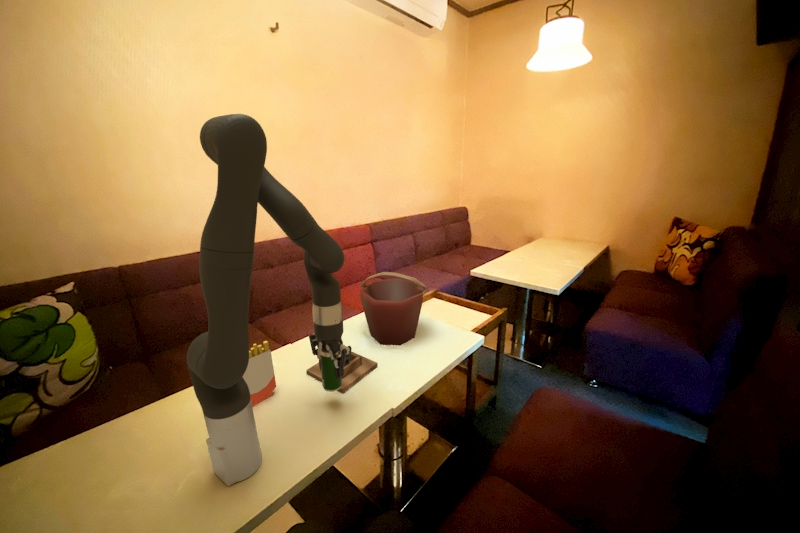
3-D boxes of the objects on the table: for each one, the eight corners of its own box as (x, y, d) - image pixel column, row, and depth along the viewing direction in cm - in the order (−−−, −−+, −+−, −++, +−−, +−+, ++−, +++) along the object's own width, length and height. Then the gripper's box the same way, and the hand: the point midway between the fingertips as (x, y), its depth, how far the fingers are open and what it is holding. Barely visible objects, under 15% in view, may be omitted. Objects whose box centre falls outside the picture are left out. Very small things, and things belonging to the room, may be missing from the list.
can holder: (342, 393, 103) (341, 380, 101) (306, 374, 112) (305, 362, 110) (377, 366, 115) (377, 354, 114) (342, 351, 124) (341, 339, 122)
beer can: (327, 395, 93) (324, 355, 90) (319, 384, 98) (316, 346, 94) (345, 388, 96) (343, 349, 92) (337, 377, 100) (335, 340, 97)
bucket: (434, 330, 137) (436, 270, 128) (405, 359, 119) (404, 291, 111) (383, 315, 149) (381, 259, 141) (349, 339, 132) (345, 276, 123)
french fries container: (233, 404, 99) (222, 349, 93) (270, 386, 106) (261, 334, 100) (240, 412, 96) (228, 356, 90) (277, 393, 103) (269, 340, 97)
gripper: (298, 315, 91) (303, 371, 97) (337, 331, 83) (340, 391, 89) (319, 305, 97) (323, 358, 103) (358, 319, 89) (360, 376, 95)
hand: (331, 373), depth 96 cm, fingers closed on beer can, 5 cm apart
